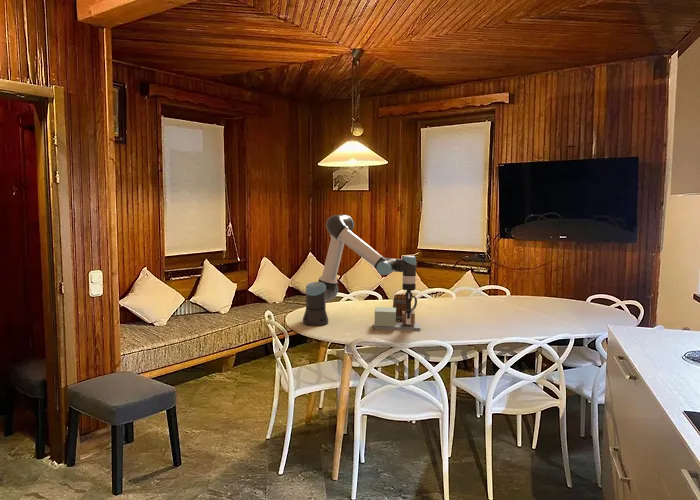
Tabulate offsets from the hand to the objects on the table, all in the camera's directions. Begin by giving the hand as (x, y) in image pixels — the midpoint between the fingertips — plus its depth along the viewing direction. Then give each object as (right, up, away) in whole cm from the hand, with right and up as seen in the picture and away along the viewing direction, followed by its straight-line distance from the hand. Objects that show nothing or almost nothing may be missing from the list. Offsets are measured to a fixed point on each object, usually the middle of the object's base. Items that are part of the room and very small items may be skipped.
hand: (408, 322), depth 316 cm
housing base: (-6, -3, +1) cm, 7 cm away
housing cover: (-13, -1, +1) cm, 13 cm away
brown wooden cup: (0, 0, 0) cm, 0 cm away
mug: (0, -1, +21) cm, 21 cm away
